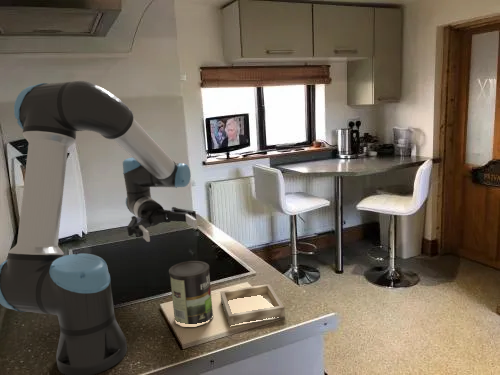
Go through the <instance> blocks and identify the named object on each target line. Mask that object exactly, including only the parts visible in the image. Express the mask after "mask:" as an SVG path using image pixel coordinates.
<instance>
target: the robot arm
mask: <svg viewBox="0 0 500 375" xmlns="http://www.w3.org/2000/svg"><path fill="white" fill-rule="evenodd" d="M13 113H14V114H13V115H14V118H15V119H16V123H17V125H18V126H19V127H20V128H21V129H22V136H23V137H24V139H25V140H26V141H27V142H28V148H27V155H26V165H25V171H24V172H25V173H24V180H23V182H24V183H23V190H22V198H21V208H20V216H19V223H18V234H17V242H16V244H15V245H14V246H13V247H12V248H11V249H9V251H8V255H7V259H6V260H3V262H1V263H0V305H1V306H2V307H4V308H6V309H9V310H14V311H16V312H20V313H26V312H27V313H36V314H45V315H55V316H57V319H58V324H59V330H60V331H59V332H60V334H59V340H58V345H57V351H56V354H55V357H56V358H55V360H56V366H57V369H58V371H59V372H60V373H61V374H63V375H97V374H100V373H103V372H105V371H107V370H109V369H112V368H113V367H114V366H116V365H118V363H120V362H121V361H122V360H123V358H124V357H125V356H126V354H127V352H128V345H127V338H126V336H125V334H124V332H123V330H122V328H121V327H120V325H119V323H118V322H117V319H116V315H115V310H114V300H113V292H112V284H111V274H110V273H109V269H108V265H107V262H106V261H105V260H104V259H103V258H102V257H100V256H98V255H96V254H90V253H86V252H85V253H83V252H82V253H77V254H74V253H71V254H66V255H65V254H64V252H63V250H62V249H61V248H60V247H59V238H60V237H59V236H60V226H61V217H62V208H63V206H62V205H63V199H64V198H63V197H64V190H65V189H64V188H65V187H64V186H65V178H66V167H67V160H68V151H69V147H71V146H72V145H74V144H75V143H76V136H77V132H83V131H88V132H94V133H98V134H99V135H100V136H102V137H103V138H104V139H107V140H113V141H114V142H115V143H116V144H118V146H120V148H121V149H122V150H124V151H125V152H126V153H127V154H129V155H130V156H131V157H129V158H128V157H127V158H126V159H124V160H123V161H122V170H123V173H122V174H123V178H124V184H125V189H126V190H125V191H126V198H125V206H126V208H127V209H128V211H129V212H130V213H131V214H133V215H132V216H131V217H130V218H131V220H130V222H129V223H128V225H127V227H126V228H127V229H126V230H127V235H128V236H129V237H132V236H133V235H134V234H135V238H137V239H138V238H140V237H142V238H143V239H144V240H145V241H146V242H148V243H149V242H151V238H150V231H149V230H147V228H150V227H154V226H157V225H159V224H160V223H161V224H163V223H170V222H181V223H182V222H183V223H185V222H186V224H187V225H188V226H189V227H191V228H192V229H193V230H198V221H197V211H196V210H192V209H191V210H190V209H186V208H185V209H183V208H178V207H175V206H172V207H171V210H170V209H164V207H163V206H162V205H161V204H160V203H159V202H157V201H156V200H154V199H153V198H152V197H151V196H152V195H151V188H176V189H177V188H185V187H187V186H188V185H189V183H190V181H191V177H192V176H191V175H192V174H191V169H190V166H188V164H186V163H181V162H179V163H178V162H177V163H176V162H175V161H174V160H173V159H172V158H171V156H170V155H169V154H168V153H167V152H165V150H164V149H163V148H162V147H161V146H160V145H159V144H158V143H157V141H155V140H154V139H153V138H152V136H151V135H149V134H148V132H147V131H146V130H145V129H144V128H143V127H142V126H141V124H140V123H139V122H137V121H136V119H135V116H134V113H133V111H132V109H131V108H130V107H129V106H128V105H127V104H126V103H124V102H123V100H121V99H120V98H119V97H118V96H116V95H115V94H113V93H112V92H111V91H109V90H107V89H105V88H104V87H101V86H100V85H97V84H95V83H94V82H93V83H92V82H90V81H84V80H73V81H66V82H65V81H64V82H54V83H53V82H51V83H49V82H48V83H47V82H46V83H45V82H43V83H41V82H40V83H37V84H35V85H33V84H32V85H29V86H27V87H25V88H24V89H22V90H21V91H20V92H19V93H18V95H17V96H16V98H15V100H14V105H13Z"/></svg>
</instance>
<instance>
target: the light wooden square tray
mask: <svg viewBox="0 0 500 375" xmlns="http://www.w3.org/2000/svg"><path fill="white" fill-rule="evenodd" d="M219 295H220V302H221V305H222V304H223V305H222V308H223V307H224V308H223V310H225V311H224V314H225V313H226V314H225V317H226V316H227V317H226V320H227V319H228V320H227V323H228V322H229V323H228V325H230V326H231V325H235V324H239V323H243V322H250V321H256V320H263V319H266V318H267V319H268V318H272V317H273V318H274V317H275V318H277V317H279V318H281V319H285V318H286V316H285V315H286V312H285V306H284V305H283V303H282V301H281V300H280V298H279V296H278V294H276V292H275V290H274V288H273V287H272V285H271V284H270V283H267V284H266V283H265V284H262V285H261V284H260V285H254V286H248V287H247V286H246V287H240V288H236V289H235V288H233V289H230V290H223V291H220V294H219ZM257 295H261V296H263V298H265V299H266V300H267V301H268V302H269V303H271V304H272V305H273V306H274V307H270V308H264V309H258V310H252V311H246V312H240V313H234V314H232V312H231V309H230V306H229V304H228V301H229V300H233V299H237V298H244V297H251V296H257ZM230 326H229V327H230Z"/></svg>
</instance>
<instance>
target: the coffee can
mask: <svg viewBox="0 0 500 375" xmlns="http://www.w3.org/2000/svg"><path fill="white" fill-rule="evenodd" d="M168 274H169V279H170V287H171V288H170V289H171V297H172V307H173V314H174V315H173V316H174V317H175V318H174V319H175V320H176V321H177V322H180V323H185V324H197V323H202V322H206V321H208V320H210V319H211V318H212V316H213V317H214V312H213V300H212V290H211V280H210V279H211V278H210V276H211V274H210V264H208V263H207V262H205V261H202V260H201V261H200V260H188V261H182V262H179V263H178V262H177V263H176V264H174V265H173V266H170V268H169V269H168ZM212 319H213V318H212Z"/></svg>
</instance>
